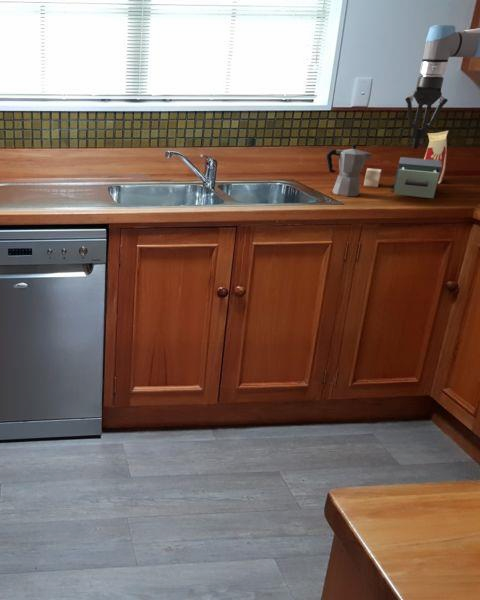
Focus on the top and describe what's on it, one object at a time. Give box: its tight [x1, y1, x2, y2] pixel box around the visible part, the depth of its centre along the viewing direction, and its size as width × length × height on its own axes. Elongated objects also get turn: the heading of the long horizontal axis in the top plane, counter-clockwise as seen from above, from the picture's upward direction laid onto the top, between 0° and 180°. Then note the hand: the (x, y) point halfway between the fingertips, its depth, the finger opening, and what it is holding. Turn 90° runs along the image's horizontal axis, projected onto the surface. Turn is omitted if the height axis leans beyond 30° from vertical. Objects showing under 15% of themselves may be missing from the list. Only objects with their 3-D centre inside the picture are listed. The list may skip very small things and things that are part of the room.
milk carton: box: [423, 130, 449, 184], centre depth 243 cm, size 9×9×20 cm
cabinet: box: [392, 156, 442, 197], centre depth 227 cm, size 16×14×11 cm
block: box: [363, 167, 382, 188], centre depth 236 cm, size 5×5×6 cm
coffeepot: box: [325, 143, 374, 197], centre depth 219 cm, size 15×9×18 cm, turn 76°
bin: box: [393, 166, 439, 199], centre depth 218 cm, size 21×13×9 cm, turn 152°
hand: (415, 147), depth 211 cm, fingers closed
